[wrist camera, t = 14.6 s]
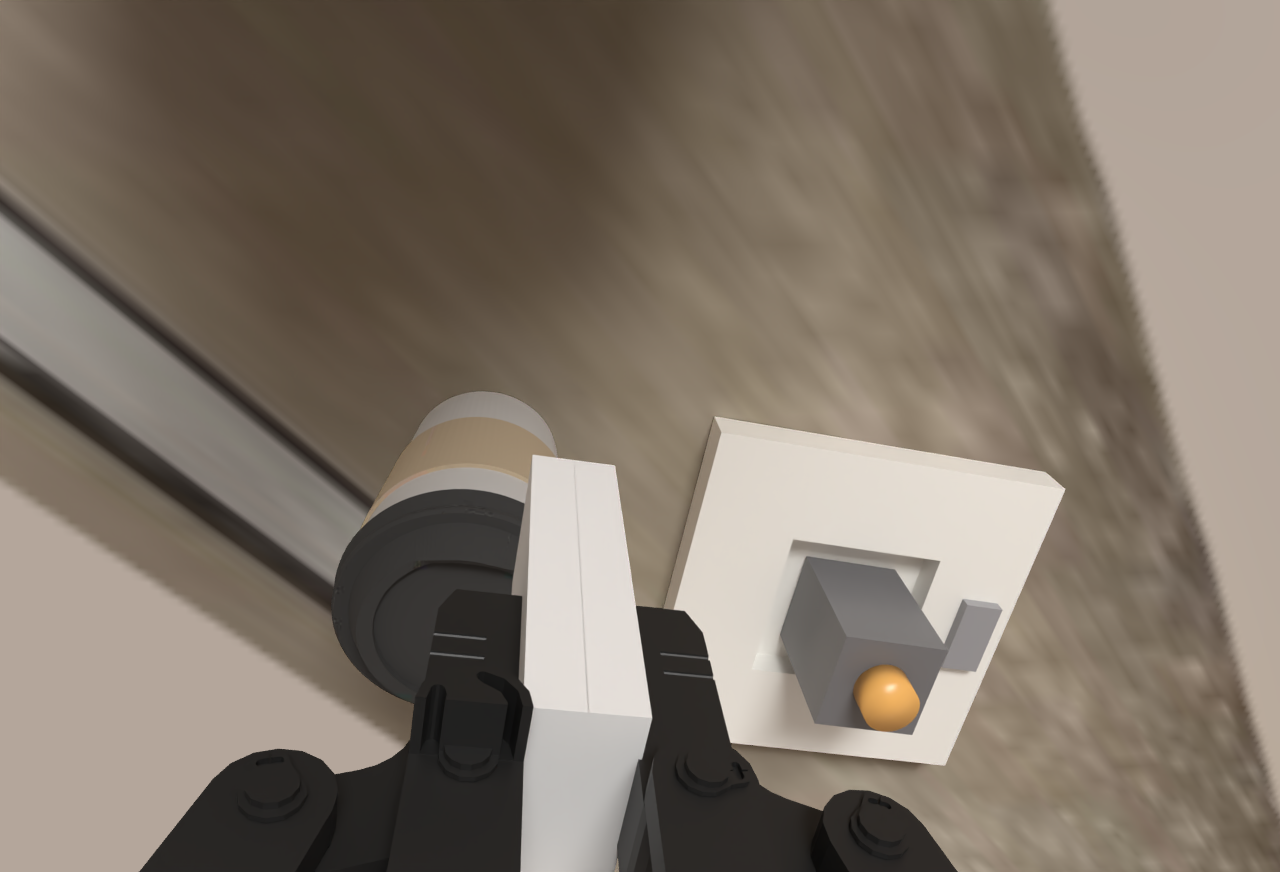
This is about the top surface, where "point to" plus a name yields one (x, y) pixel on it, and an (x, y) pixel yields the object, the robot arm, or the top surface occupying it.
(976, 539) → the socket plate
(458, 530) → the coffee cup
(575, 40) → the top surface
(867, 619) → the plug
